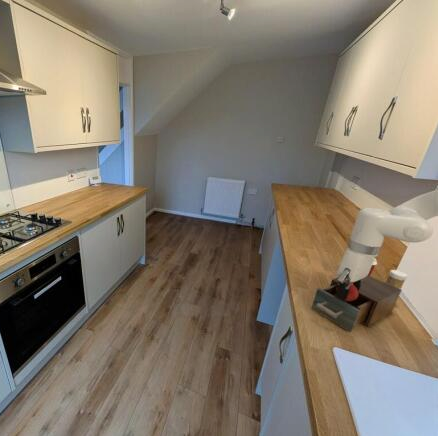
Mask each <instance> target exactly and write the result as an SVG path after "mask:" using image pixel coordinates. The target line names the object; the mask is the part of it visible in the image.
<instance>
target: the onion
mask: <svg viewBox="0 0 438 436" xmlns="http://www.w3.org/2000/svg"><path fill="white" fill-rule="evenodd" d="M345 283H346V284H348V282H345ZM337 287H338V286H337ZM349 289H350V291H349V294H348V297H347V299H343V298H341V297H340V298H341V299H342V300H343V301H344V302H347V301H353V300H355V299H357V297H358V294H359V293H358V290H357V288H356V287H355V286H354V285H353V282H352V284H351V286H350V287H349ZM336 290H337V288H336Z"/></svg>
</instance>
